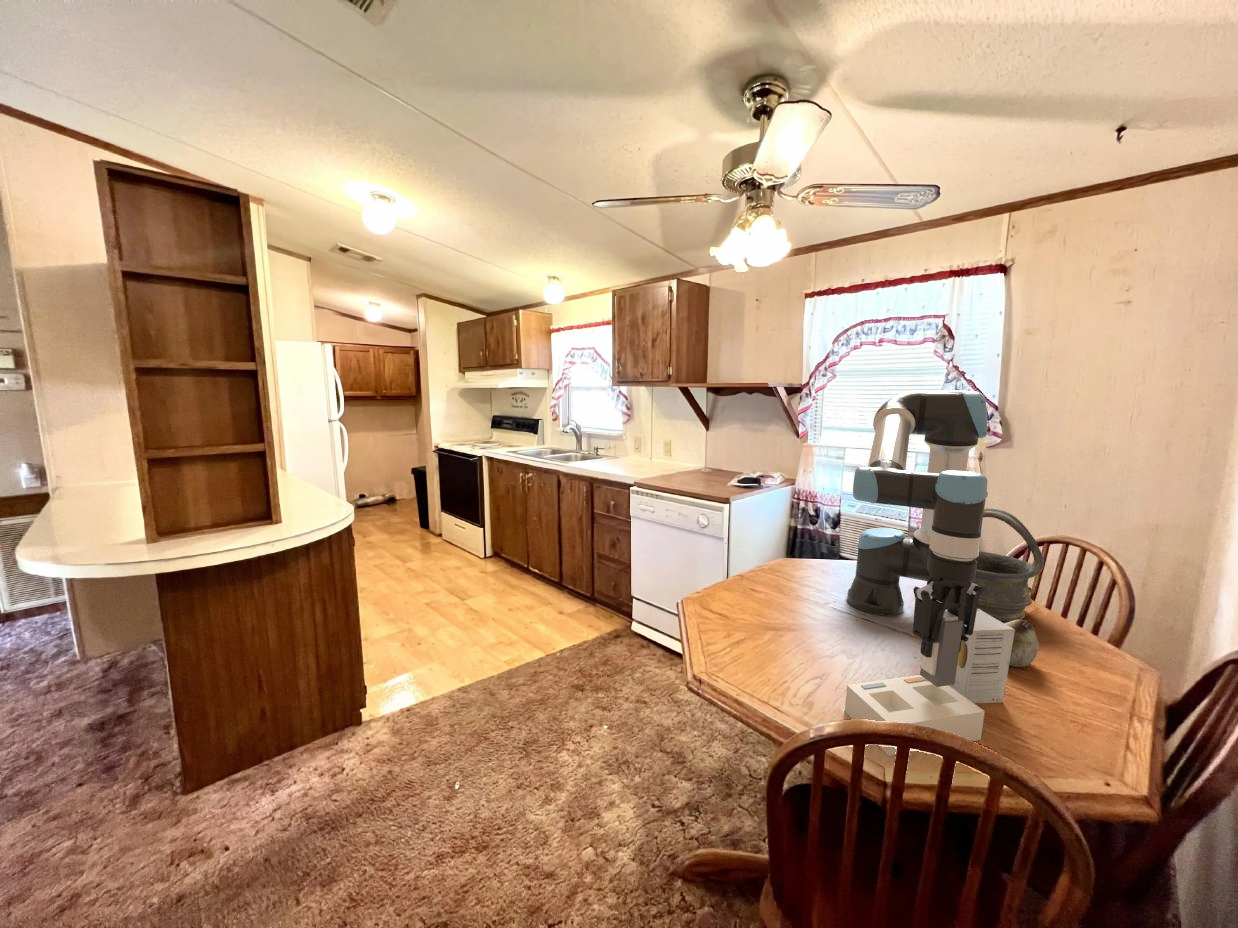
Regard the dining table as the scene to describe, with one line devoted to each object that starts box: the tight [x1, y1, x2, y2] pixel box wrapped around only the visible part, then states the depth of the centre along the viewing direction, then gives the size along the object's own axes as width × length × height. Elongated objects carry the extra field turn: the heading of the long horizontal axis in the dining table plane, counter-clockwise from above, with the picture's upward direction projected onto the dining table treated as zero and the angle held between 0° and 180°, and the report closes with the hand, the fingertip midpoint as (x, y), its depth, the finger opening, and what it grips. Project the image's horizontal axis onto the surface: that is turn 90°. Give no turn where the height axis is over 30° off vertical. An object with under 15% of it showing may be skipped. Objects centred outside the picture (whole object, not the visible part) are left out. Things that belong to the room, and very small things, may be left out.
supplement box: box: [946, 609, 1015, 705], centre depth 103 cm, size 10×9×17 cm
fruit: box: [1003, 619, 1040, 668], centre depth 114 cm, size 10×9×12 cm
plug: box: [919, 610, 963, 687], centre depth 92 cm, size 4×4×14 cm
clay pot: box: [971, 508, 1045, 622], centre depth 141 cm, size 22×23×30 cm
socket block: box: [844, 674, 986, 757], centre depth 93 cm, size 20×12×6 cm, turn 102°
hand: (938, 669), depth 92 cm, fingers closed on plug, 4 cm apart
